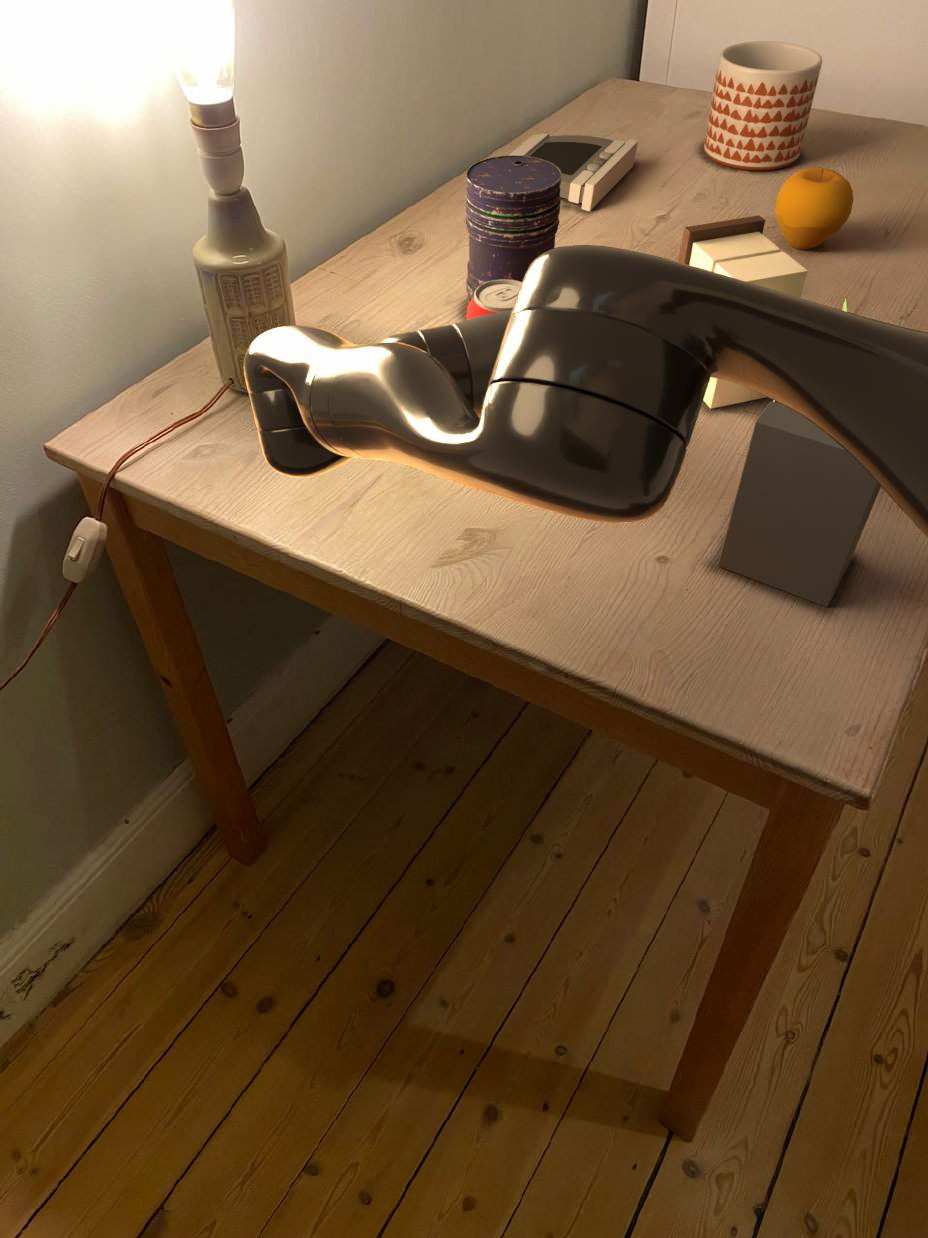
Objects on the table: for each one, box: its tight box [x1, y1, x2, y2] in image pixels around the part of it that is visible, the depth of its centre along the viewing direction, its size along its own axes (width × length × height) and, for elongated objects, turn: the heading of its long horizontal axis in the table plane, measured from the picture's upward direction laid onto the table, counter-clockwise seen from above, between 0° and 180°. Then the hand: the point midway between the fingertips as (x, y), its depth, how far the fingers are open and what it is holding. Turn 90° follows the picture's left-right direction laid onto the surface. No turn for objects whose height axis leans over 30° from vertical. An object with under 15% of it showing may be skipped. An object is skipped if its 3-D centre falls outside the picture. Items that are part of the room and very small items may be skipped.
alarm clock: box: [507, 132, 639, 212], centre depth 127 cm, size 17×5×16 cm
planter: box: [703, 40, 823, 172], centre depth 129 cm, size 14×14×13 cm
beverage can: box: [466, 279, 522, 320], centre depth 86 cm, size 7×7×12 cm
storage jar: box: [465, 154, 562, 307], centre depth 98 cm, size 10×10×15 cm
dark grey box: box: [717, 400, 882, 608], centre depth 69 cm, size 9×6×14 cm
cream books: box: [678, 214, 808, 410], centre depth 88 cm, size 10×8×14 cm
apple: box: [774, 167, 854, 251], centre depth 110 cm, size 9×9×9 cm
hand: (708, 325), depth 72 cm, fingers open, 8 cm apart
